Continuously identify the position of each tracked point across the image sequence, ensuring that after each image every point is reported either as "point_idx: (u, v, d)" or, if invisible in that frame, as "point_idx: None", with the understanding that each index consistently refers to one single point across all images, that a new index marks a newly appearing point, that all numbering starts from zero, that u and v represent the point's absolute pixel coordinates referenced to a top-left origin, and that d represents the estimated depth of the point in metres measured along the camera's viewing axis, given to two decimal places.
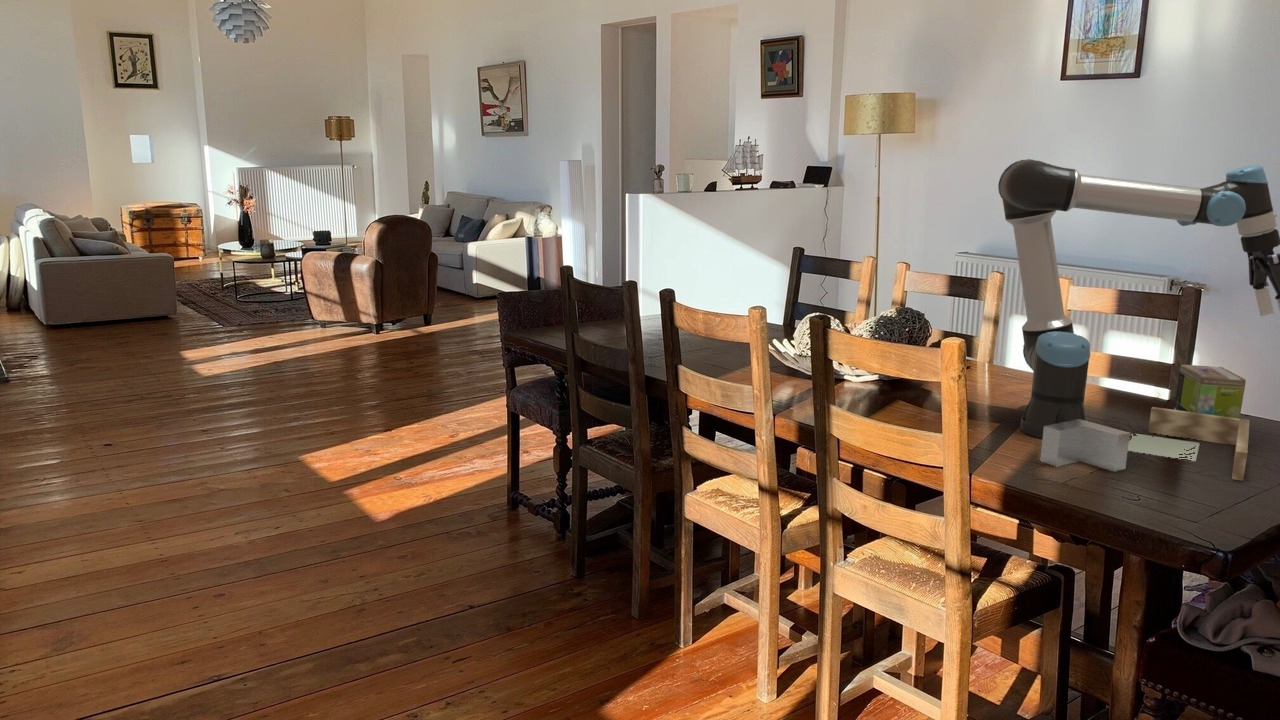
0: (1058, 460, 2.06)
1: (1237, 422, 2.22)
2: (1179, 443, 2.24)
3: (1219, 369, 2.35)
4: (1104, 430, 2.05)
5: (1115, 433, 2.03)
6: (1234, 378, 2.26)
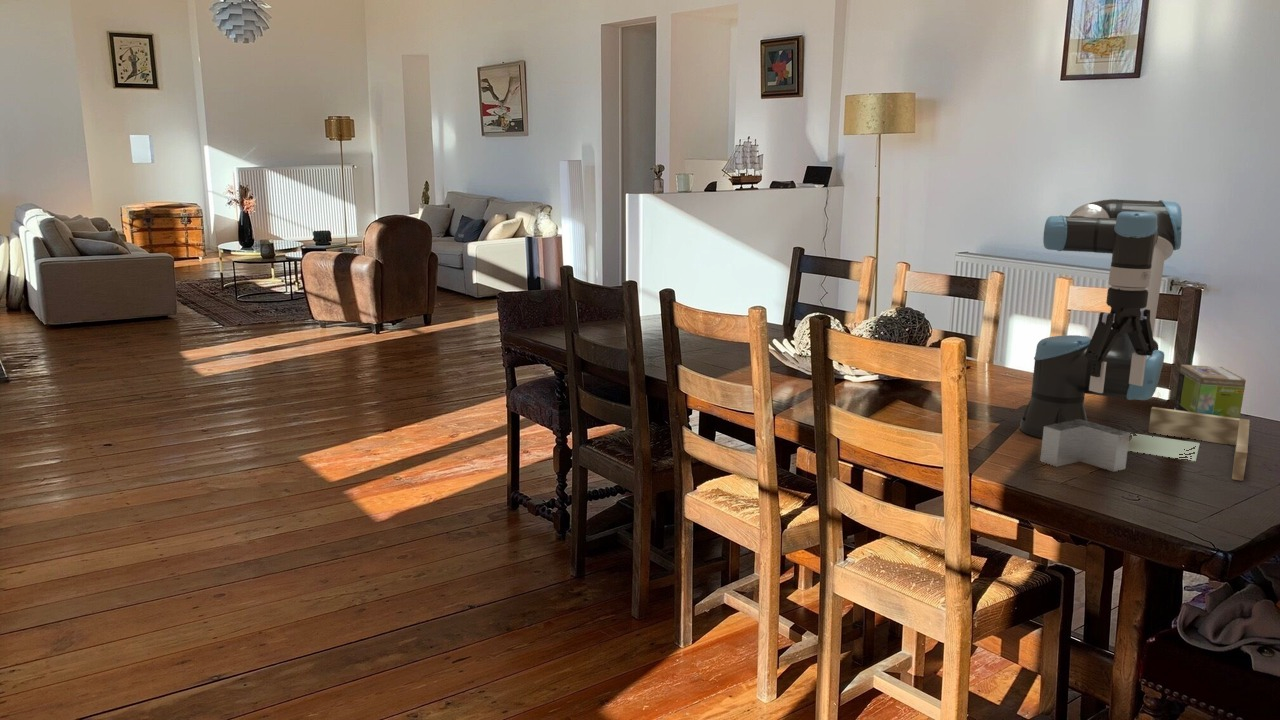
0: (1058, 460, 2.06)
1: (1237, 422, 2.22)
2: (1179, 443, 2.24)
3: (1219, 369, 2.35)
4: (1104, 430, 2.05)
5: (1115, 433, 2.03)
6: (1234, 378, 2.26)
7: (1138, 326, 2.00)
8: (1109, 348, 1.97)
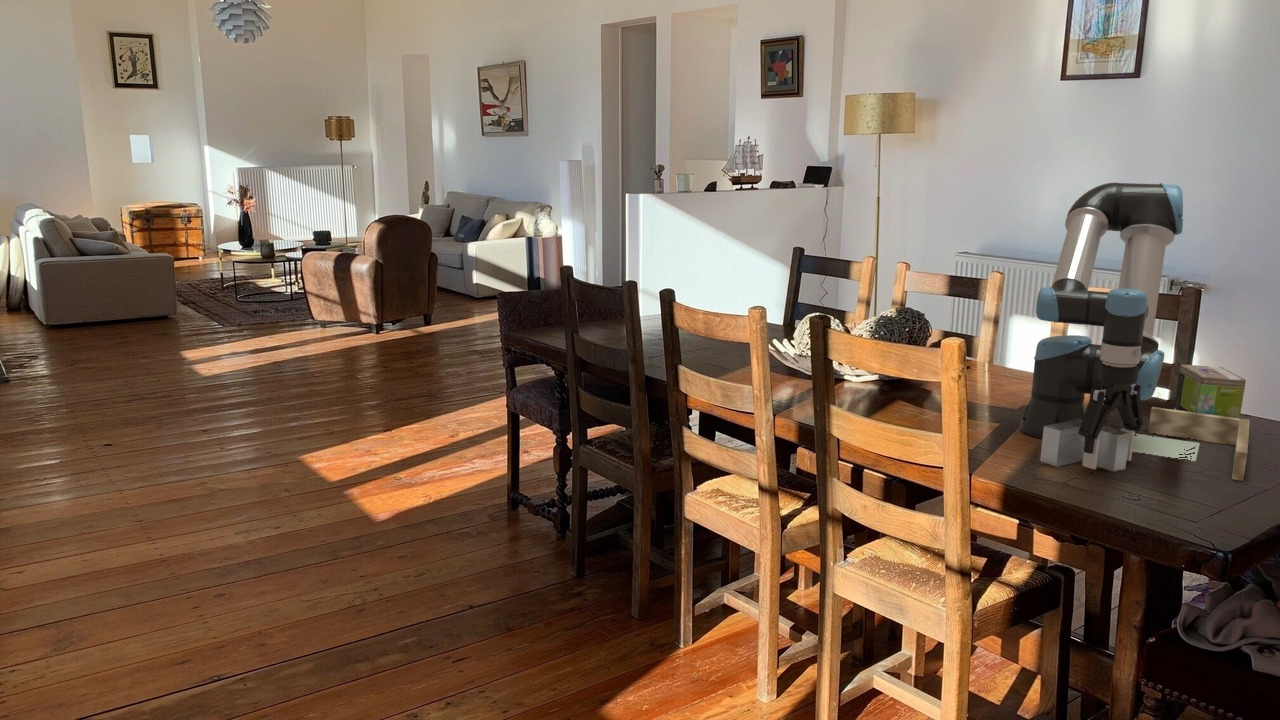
0: (1058, 460, 2.06)
1: (1237, 422, 2.22)
2: (1179, 443, 2.24)
3: (1219, 369, 2.35)
4: (1104, 430, 2.05)
5: (1115, 433, 2.03)
6: (1234, 378, 2.26)
7: (1128, 401, 2.04)
8: (1101, 425, 2.01)
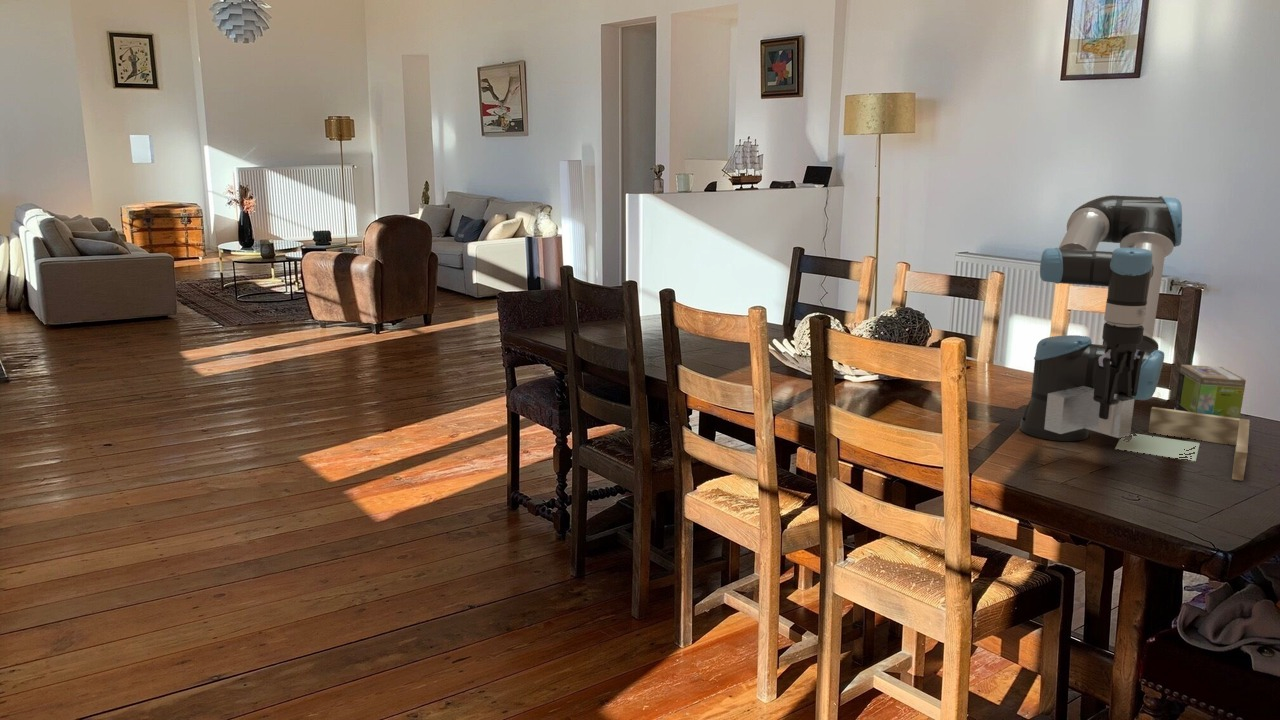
0: (1062, 428, 2.05)
1: (1237, 422, 2.22)
2: (1179, 443, 2.24)
3: (1219, 369, 2.35)
4: None
5: (1120, 399, 2.02)
6: (1234, 378, 2.26)
7: (1131, 363, 2.02)
8: (1114, 389, 2.01)
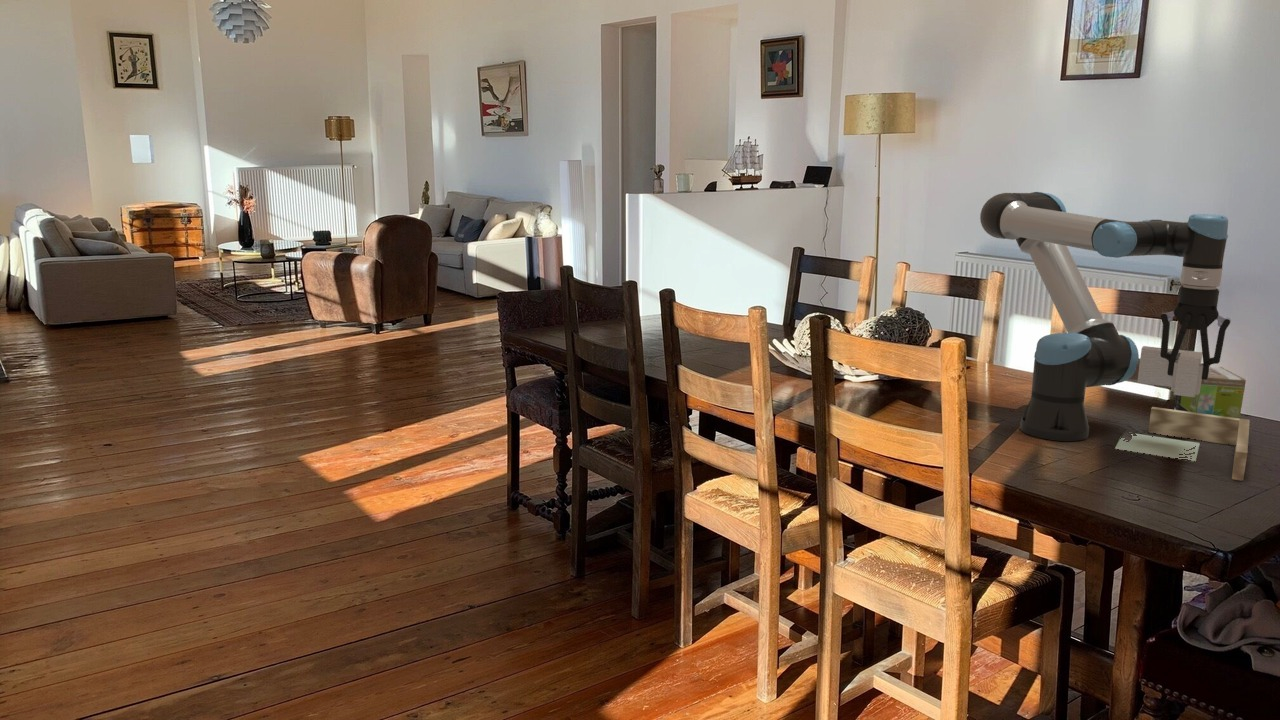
0: (1139, 377, 2.23)
1: (1237, 422, 2.22)
2: (1179, 443, 2.24)
3: (1219, 369, 2.35)
4: (1183, 356, 2.13)
5: (1182, 358, 2.11)
6: (1234, 378, 2.26)
7: (1202, 326, 2.09)
8: (1177, 347, 2.12)
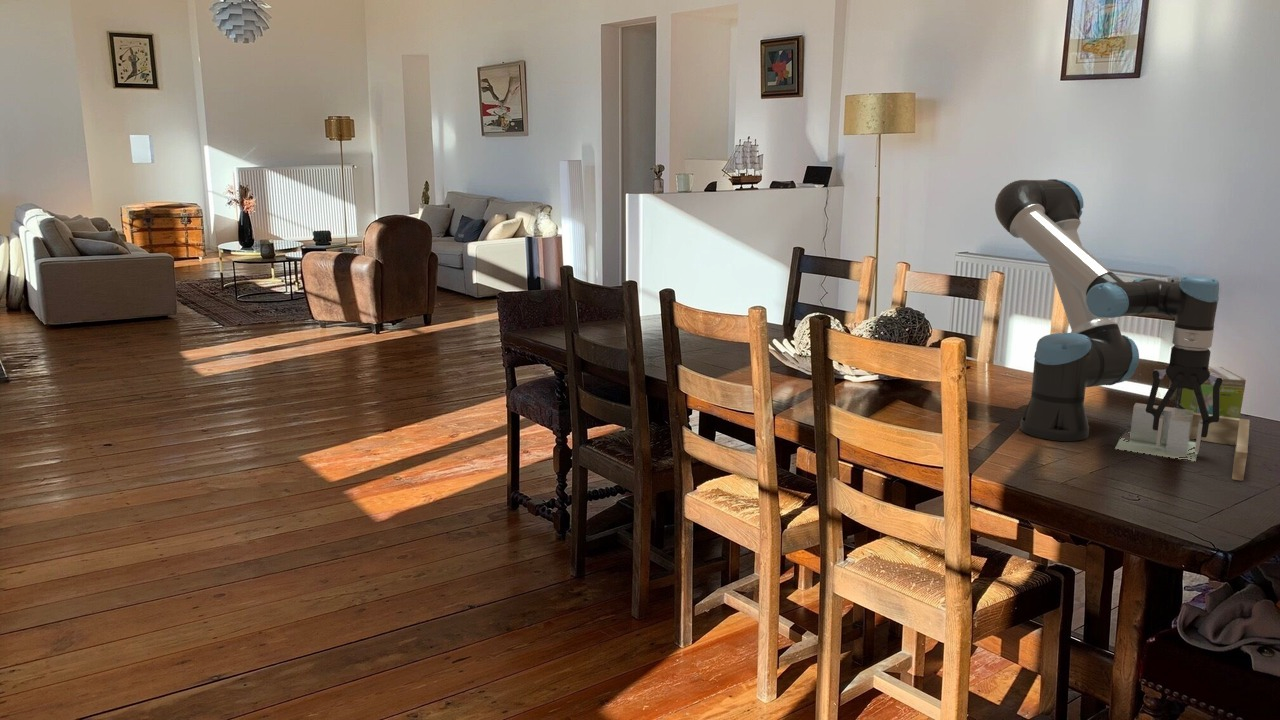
0: (1132, 434, 2.26)
1: (1237, 422, 2.22)
2: None
3: (1219, 369, 2.35)
4: (1175, 416, 2.16)
5: (1174, 419, 2.14)
6: (1234, 378, 2.26)
7: (1195, 386, 2.11)
8: (1164, 404, 2.16)
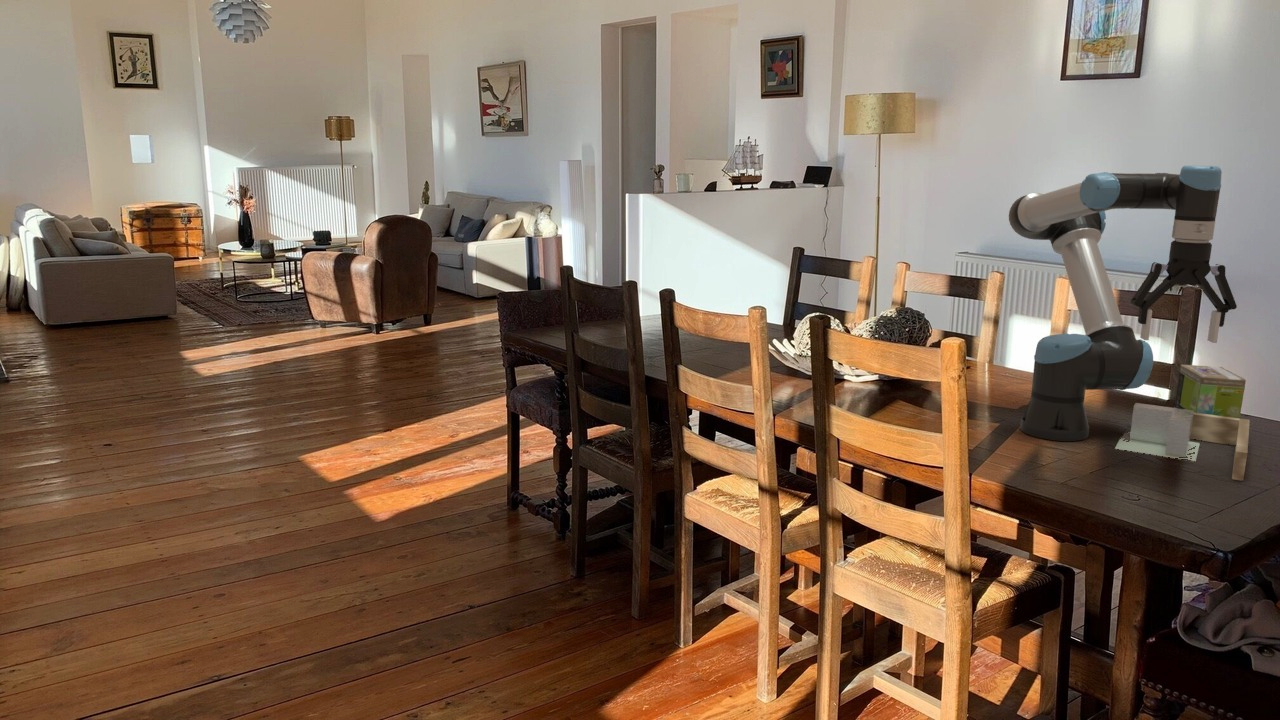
0: (1132, 434, 2.26)
1: (1237, 422, 2.22)
2: None
3: (1219, 369, 2.35)
4: (1175, 416, 2.16)
5: (1174, 419, 2.14)
6: (1234, 378, 2.26)
7: (1202, 280, 2.02)
8: (1157, 297, 2.04)
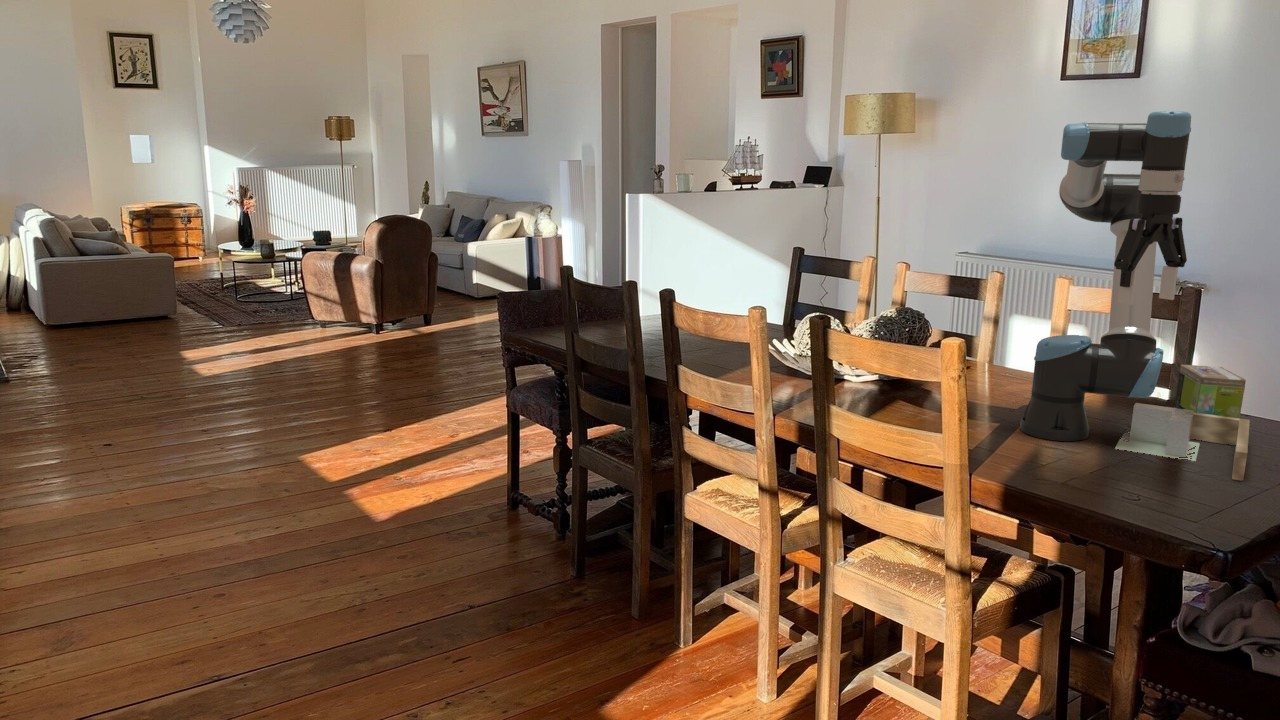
0: (1132, 434, 2.26)
1: (1237, 422, 2.22)
2: None
3: (1219, 369, 2.35)
4: (1175, 416, 2.16)
5: (1174, 419, 2.14)
6: (1234, 378, 2.26)
7: (1170, 234, 1.90)
8: (1140, 256, 1.87)
